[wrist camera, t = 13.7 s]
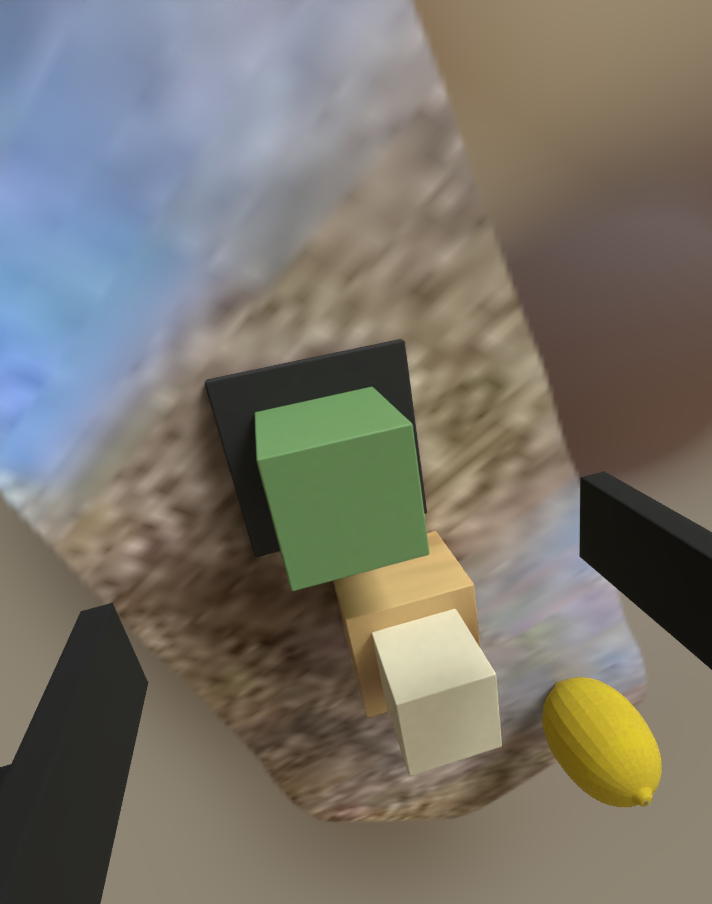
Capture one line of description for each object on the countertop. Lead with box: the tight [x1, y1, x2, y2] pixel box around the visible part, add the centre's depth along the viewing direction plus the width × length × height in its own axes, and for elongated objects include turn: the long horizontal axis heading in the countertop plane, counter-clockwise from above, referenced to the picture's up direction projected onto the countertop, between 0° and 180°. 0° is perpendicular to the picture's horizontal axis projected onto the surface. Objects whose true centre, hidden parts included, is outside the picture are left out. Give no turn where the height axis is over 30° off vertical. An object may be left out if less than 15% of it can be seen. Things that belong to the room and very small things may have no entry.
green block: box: [254, 387, 429, 591], centre depth 21 cm, size 6×6×6 cm
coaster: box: [205, 339, 427, 557], centre depth 24 cm, size 9×9×1 cm
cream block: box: [372, 609, 502, 776], centre depth 21 cm, size 4×4×4 cm
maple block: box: [333, 531, 480, 718], centre depth 25 cm, size 6×6×5 cm
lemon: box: [542, 677, 662, 807], centre depth 29 cm, size 6×6×8 cm
